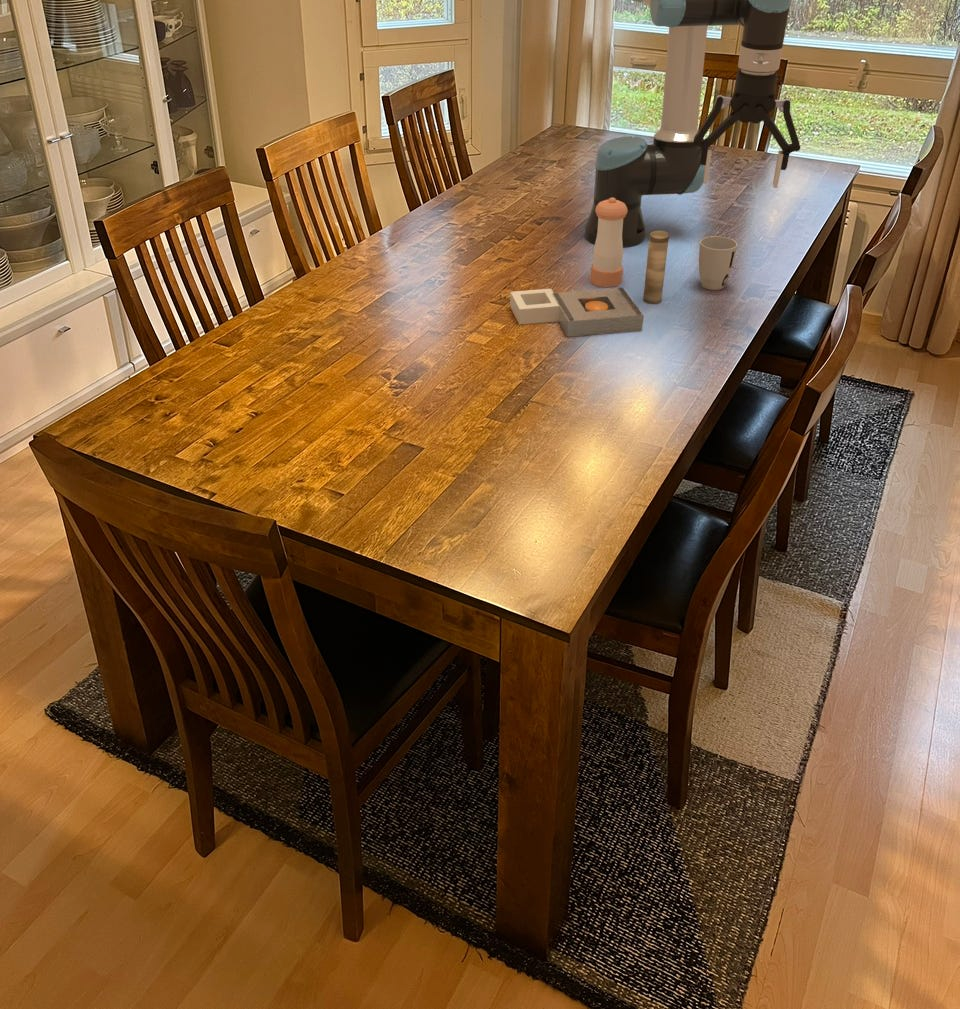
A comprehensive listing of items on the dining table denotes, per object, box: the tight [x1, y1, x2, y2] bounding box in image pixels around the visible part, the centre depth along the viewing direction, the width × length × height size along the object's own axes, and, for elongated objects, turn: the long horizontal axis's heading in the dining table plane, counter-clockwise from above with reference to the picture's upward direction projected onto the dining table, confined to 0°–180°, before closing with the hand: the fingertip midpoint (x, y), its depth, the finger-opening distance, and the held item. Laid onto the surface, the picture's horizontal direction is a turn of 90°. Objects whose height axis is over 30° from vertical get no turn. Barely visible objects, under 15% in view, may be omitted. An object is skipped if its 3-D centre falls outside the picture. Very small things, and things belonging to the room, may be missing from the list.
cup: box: [698, 235, 738, 291], centre depth 223 cm, size 8×8×10 cm
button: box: [585, 301, 608, 312], centre depth 210 cm, size 5×5×1 cm
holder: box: [509, 288, 560, 326], centre depth 213 cm, size 9×9×4 cm
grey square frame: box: [552, 287, 645, 338], centre depth 211 cm, size 14×16×4 cm
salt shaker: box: [589, 198, 628, 288], centre depth 222 cm, size 7×7×19 cm
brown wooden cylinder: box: [642, 230, 670, 305], centre depth 215 cm, size 4×4×15 cm
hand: (740, 183), depth 199 cm, fingers open, 13 cm apart
